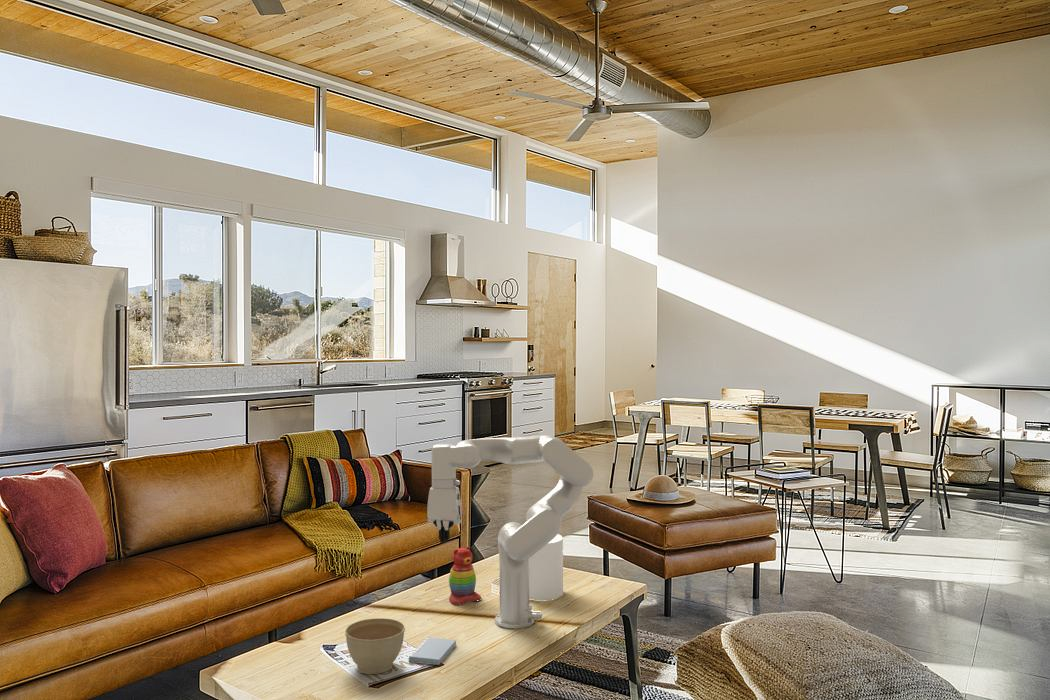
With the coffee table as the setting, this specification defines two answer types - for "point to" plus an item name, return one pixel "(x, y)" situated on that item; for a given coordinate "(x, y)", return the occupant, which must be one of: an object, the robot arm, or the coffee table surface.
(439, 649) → the board
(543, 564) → the canister
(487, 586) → the coffee table surface
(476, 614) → the coffee table surface
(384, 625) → the planter bowl
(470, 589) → the stacking bear
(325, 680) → the coffee table surface
